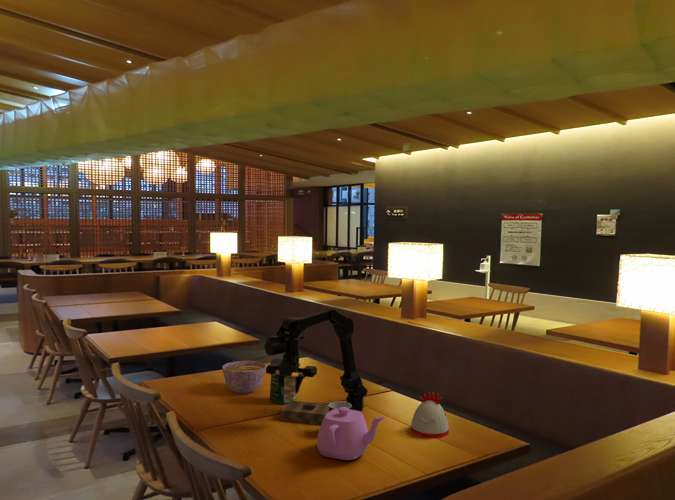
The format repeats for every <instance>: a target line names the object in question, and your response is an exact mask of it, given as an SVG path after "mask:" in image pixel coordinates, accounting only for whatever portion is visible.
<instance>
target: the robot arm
mask: <svg viewBox="0 0 675 500" xmlns="http://www.w3.org/2000/svg"><path fill="white" fill-rule="evenodd" d="M324 322H329V323H330V324H332V326H333V330H334V333H335V334H336V336H337V338H338V339H339V344H340V351H341V358H342V364H343V369H344V371H343V374H342V375H340V377H339V378H340V386H342V388H343V389H344V392H345V393H347V396H346V401H345V402H347V403H350V404H351V405H352V406H353V410H356V411H360V412H362V411H363V410H364V408H365V404H364V398H365V396H367V395H368V389H367V388H366V387H365V385H364V384H363V381H362V378H361V377H362V376H361V375H360V374H359V372H358V371H357V367H356V361H355V353H354V345H353V340H352V336H353V335H354V331H355V330H354V329H355V327H354V326H355V325H354V324H355V323H354V320H353V319H351V318H349V317H346V316H345V315H343V314H341V313H340V312H339V311H337V310H336V309H334V308H330V307H329V308H328V307H327V308H324V309H323V310H322V309H321V310H319V311H316V312H313V313H309V314H307V315H304V316H291V317H290V316H289V317H286V318H284V319H283V320H282V323H281V325H280V327H279V328H278V331H277V332H276V333H275V335H274V336H273V335H272V336H271V335H269V336H267V340H266V341H265V343H264V351H265V353H266V354H265V355H267V356H275V355H280V354H281V355H282V354H283V355H282V359H283V360H282V362H281V364H279V363H271V362H270V364H268V365H266V370H265V374H267V375H268V374H269V375H271V374H274V373H275V372H276V374H275V376H277V377H278V378H279V379H280V381H281V383H282V386H283V389H284V378H285V377H286V376H291V375H293V374H294V373H296V374H297V375H296V376H297V377H296V379H297V384H296V393H297V394H298V393H299V390H300V388H301V386H302V383H303V381H304V379H305V378H314V377H315V376H316V375H317V373H318V368H317V367H316V366H314V365H306V366H305V367H301V363H300V356H301V352H300V340H304V339H305V337H304V336H303V335H302V334H301V333H303V332H305V330H306V329H307V328H310V327H312V326H315V325H318V324H321V323H324ZM284 392H285V391H284Z"/></svg>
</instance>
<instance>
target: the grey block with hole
mask: <svg viewBox="0 0 675 500" xmlns="http://www.w3.org/2000/svg"><path fill="white" fill-rule="evenodd" d="M329 404H330V403H328V404H327V403H319V402H309V401H298V400H295V401H294V402H289V403H287V404H285V406H284V407H282V409H281V410H280V420H281V421H284V422H285V421H286V422H293V423H294V422H295V423H303V424H304V423H305V424H309V425H310V424H312V425H320V426H321V424H322V422H323V419H324V417H325V415H326V414H327V413H328V412H329V406H328V405H329Z"/></svg>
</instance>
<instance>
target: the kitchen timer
mask: <svg viewBox="0 0 675 500" xmlns="http://www.w3.org/2000/svg"><path fill="white" fill-rule="evenodd" d="M430 393H431V392H430V391H428V392H427V395H426V393H423V397H424V399H423V397H422V396H421V395H420V396H419V398H420V401H421V403H420V404H419V405H418V406H417V408H416V409H415V411H414V414H413V417H412V419H411V424H410V427H411V428H410V431H411V433H413V434H414V435H415V436H419V437H421V438H427V439H440V438H441V439H442V438H444V437H447V436H448V435H449V431H450V427H449V421H448V417H447V413H446V412H445V411H444V409H443V407H442V406H441V404H440V402H441V401H442V398H443V396H440V398H439V392H437V393H436V396H435V393H434V391H432V393H431V394H430Z"/></svg>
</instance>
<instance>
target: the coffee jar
mask: <svg viewBox="0 0 675 500" xmlns="http://www.w3.org/2000/svg"><path fill="white" fill-rule="evenodd" d="M282 360H283V357H277V358H272V360H270V364H271V363H279V364H281V362H282ZM275 374H276V372H275V373H274V374H270V386H269V387H270V388H269V400H270V402H272V403H274V404H276V405H287V404H288V403H289V401H286V396H285V392H284V389H283V386H282V383H281V381H280V379H279V378H278V377H277V376H275Z"/></svg>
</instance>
